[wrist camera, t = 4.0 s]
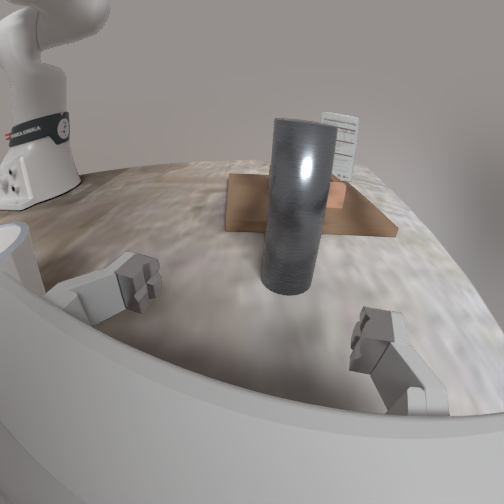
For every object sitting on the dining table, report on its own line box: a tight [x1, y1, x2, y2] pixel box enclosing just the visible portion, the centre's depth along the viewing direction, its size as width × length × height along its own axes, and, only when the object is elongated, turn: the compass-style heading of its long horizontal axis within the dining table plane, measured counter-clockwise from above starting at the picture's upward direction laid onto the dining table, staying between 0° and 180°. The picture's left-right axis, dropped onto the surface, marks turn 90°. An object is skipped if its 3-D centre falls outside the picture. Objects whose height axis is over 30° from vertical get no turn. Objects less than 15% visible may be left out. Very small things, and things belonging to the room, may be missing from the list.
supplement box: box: [321, 112, 359, 181], centre depth 49 cm, size 7×7×13 cm
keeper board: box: [226, 164, 398, 237], centre depth 35 cm, size 20×18×4 cm
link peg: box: [261, 118, 338, 295], centre depth 19 cm, size 4×4×12 cm
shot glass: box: [0, 221, 46, 297], centre depth 12 cm, size 7×7×7 cm
